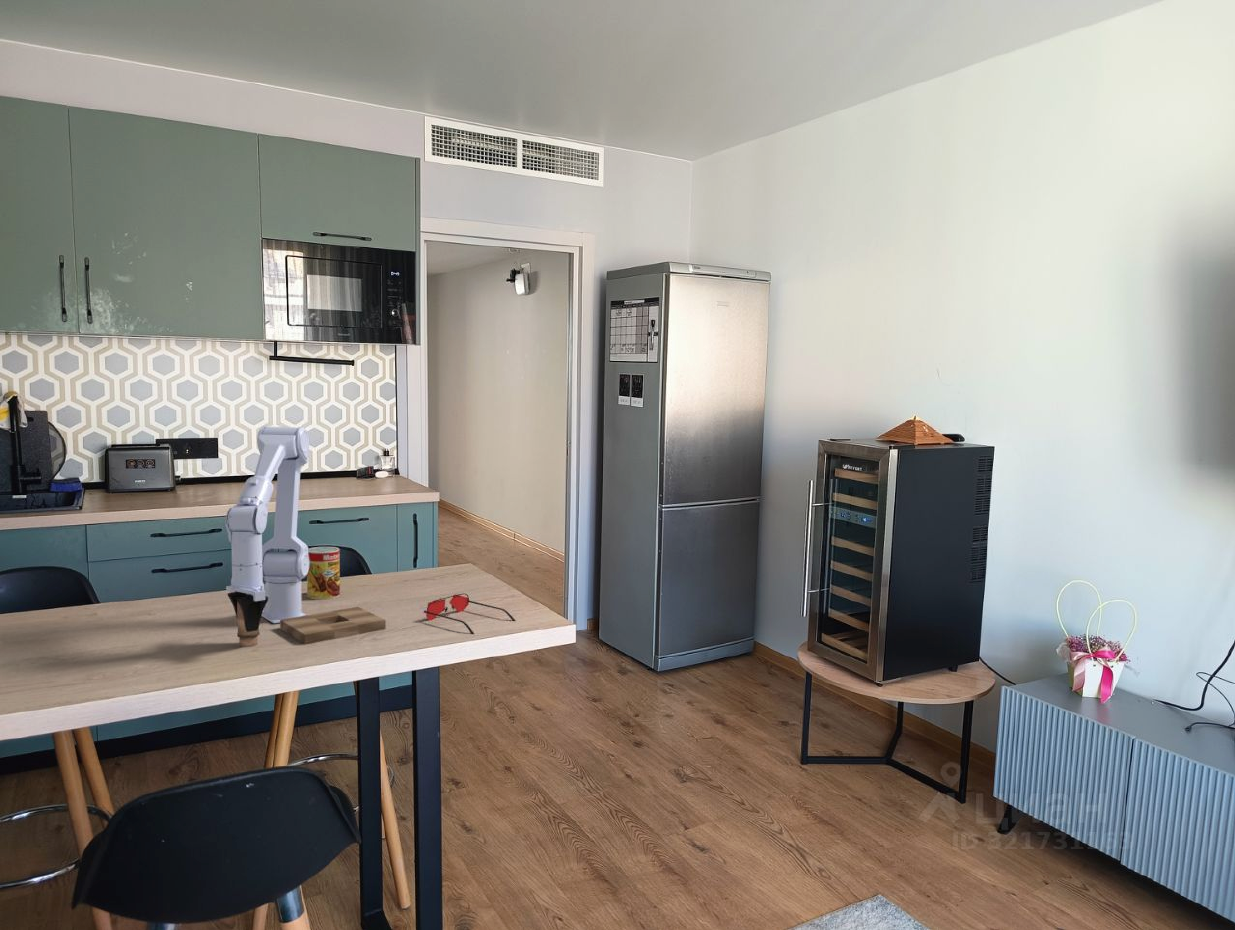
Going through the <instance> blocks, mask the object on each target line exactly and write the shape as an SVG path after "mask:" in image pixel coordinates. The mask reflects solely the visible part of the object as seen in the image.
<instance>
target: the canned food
mask: <svg viewBox="0 0 1235 930" xmlns="http://www.w3.org/2000/svg"><path fill="white" fill-rule="evenodd" d="M340 552H341V551H340V548H339V547H338V546H337V547H336V546H317V547H316V546H315V547H311V548H308V556H309V570H308V573H307V575H306V581H307V583H306V584H307V585H306V586H307V588H306V589H307V590H306V591H307V592H306V593H307V594H306V595H307V596H306V597H307V598H308V599H310V600H319V601H320V600H331V599H335V598H338V597H340V595H341V592H340V591H341V588H340V587H341V580H340V579H341V577H340V575H341V574H340V572H341V571H340V569H341V568H340V565H341V564H340Z"/></svg>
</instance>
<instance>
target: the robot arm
mask: <svg viewBox="0 0 1235 930" xmlns="http://www.w3.org/2000/svg"><path fill="white" fill-rule="evenodd" d="M256 443H257V447H258V452H259V457H258V460H257V464H256V468H255V471H254V475H253V476H251V477H249V478H248V479H247V478H246V481H245V483H244V485H243V488H242V489H241V493H240V495H239V497H238V500H237V502H236V504H235V505H234V506H232V507H230V508H228V510H227V513H226V515H225V520H224V521H225V529H226V531H227V537H228V539H227V540H228V541H229V543H230V545H231V576H232V577H231V578H230V585H227V586H225V590H226V591H227V592H229V593H226V595H227V598H228V599H229V600H230V603H232V607H233V609H234V613H235V617H236V620H237V622H238V617H237V602H238V603H239V605H240V607H241V609H242V612H243V617H244V623H245V628H246V631H247V632H251V631H256V630H258V628H259V629H260V623H261V619H262V618H264V619H266V620H268V621H269V622H270V623H272V624H280V620H282V619H288V618H294V617H300V616H306V615H307V614H306V613H304V612H303V611H302V610H303V609H302V608H303V606H302V579H305V578H306V577H307V573H308V570H309V556H308V549H309V547H308V544H306V543H305V542H303V540H301V539H300V538H299V537H298V536H297V534H298V533H297V530H298V517H299V516H298V515H299V514H298V513H299V501H300V500H299V498H300V484H301V470H302V466H304V465H306V464H308V462H309V461H308V460H309V456H310V455H309V454H310V453H309V452H310V437H309V433H308V430H307V429H306V427H304V426H300V427H299V426H298V427H293V426H292V427H290V426H288V427H287V426H285V427H284V426H267V425H266V426H265V425H263V426H261V428H260V429H259V430H258V432H257V437H256ZM276 474H277V476H276ZM275 476H276V477H277V479H276V480H277V481H276V493H275V494H276V495H275V496H276V497H275V511H274V512H275V513H274V524H273V525H274V526H273V537H272V538H270V539H269V540H268V541H266V542H265V543H263V533H264V531H265V530H266V527H267V524H268V514H269V510H268V507H269V504H270V500H271V499H272V495H273V493H274V490H275V486H274V484H273V483H272V481H273V479H274V477H275ZM283 550H284V551H283ZM288 550H289V551H288ZM290 550H291V551H290ZM263 580H264V582H263Z"/></svg>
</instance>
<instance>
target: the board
mask: <svg viewBox="0 0 1235 930" xmlns="http://www.w3.org/2000/svg"><path fill="white" fill-rule="evenodd" d="M386 622H387V621H386V619H385V618H382V617H381V616H378V615H376V614H374V613H373V612H370V611H368V610H366V609H363V608H362V607H359V606H355V607H347V608H342V609H337V610H330V611H329V610H328V611H325V612H317V613H314V614H313V613H311V614H306V616H300V617H294V618H288V619H282V620H280V623H279V625H280V626H279V627H280V630H281V631H283V632H285V633H286V634H288V635H290V636H291V637H293V638H295V639H296V640H297V641H299V642H301V643H302V644H304V645H307V644H308V645H309V644H313V643H319V642H323V641H328V640H334V638H335V639H339V638H344V637H350V636H354V635H355V636H356V635H361V634H366V633H370V632H375V631H380V630H385V629H386Z"/></svg>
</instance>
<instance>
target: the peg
mask: <svg viewBox="0 0 1235 930" xmlns="http://www.w3.org/2000/svg"><path fill="white" fill-rule="evenodd" d="M237 617H238V621H237V635H236V636H237V637H238V638H239V646H240V647H241V648H242V647H243V648H250V646H251V647H254V646H256V645H258V641H259V640H258V636H259V635H260V627H259V628H258V630H256V631H251V632H247V631H246V628H245V623H244V617H243V612H242V609H241V607H240V605H239V603H238V602H237ZM237 617H236V618H237Z"/></svg>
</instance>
